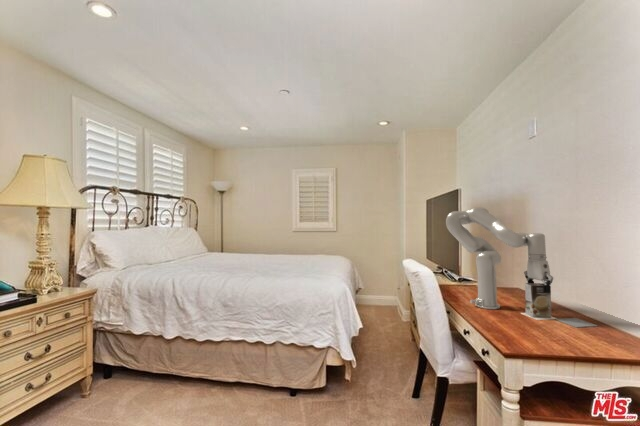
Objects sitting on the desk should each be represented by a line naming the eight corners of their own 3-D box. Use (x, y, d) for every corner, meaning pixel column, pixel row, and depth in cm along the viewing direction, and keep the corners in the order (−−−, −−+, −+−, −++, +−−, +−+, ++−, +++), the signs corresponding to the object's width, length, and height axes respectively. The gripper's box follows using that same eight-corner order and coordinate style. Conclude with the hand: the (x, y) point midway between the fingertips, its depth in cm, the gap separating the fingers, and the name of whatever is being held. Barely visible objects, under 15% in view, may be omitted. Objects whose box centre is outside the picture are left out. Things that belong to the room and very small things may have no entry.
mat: (576, 327, 141) (576, 326, 141) (555, 319, 152) (555, 319, 152) (597, 326, 142) (597, 325, 142) (575, 318, 153) (575, 317, 153)
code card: (537, 320, 152) (537, 319, 152) (520, 313, 163) (520, 312, 163) (557, 319, 153) (557, 318, 153) (539, 312, 164) (539, 311, 164)
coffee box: (532, 317, 155) (531, 285, 156) (525, 313, 162) (524, 282, 162) (551, 317, 154) (551, 285, 155) (543, 313, 161) (543, 283, 161)
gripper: (558, 258, 150) (560, 294, 150) (530, 255, 168) (531, 287, 167) (544, 259, 150) (546, 295, 149) (517, 255, 167) (519, 287, 166)
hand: (538, 290), depth 158 cm, fingers open, 9 cm apart
